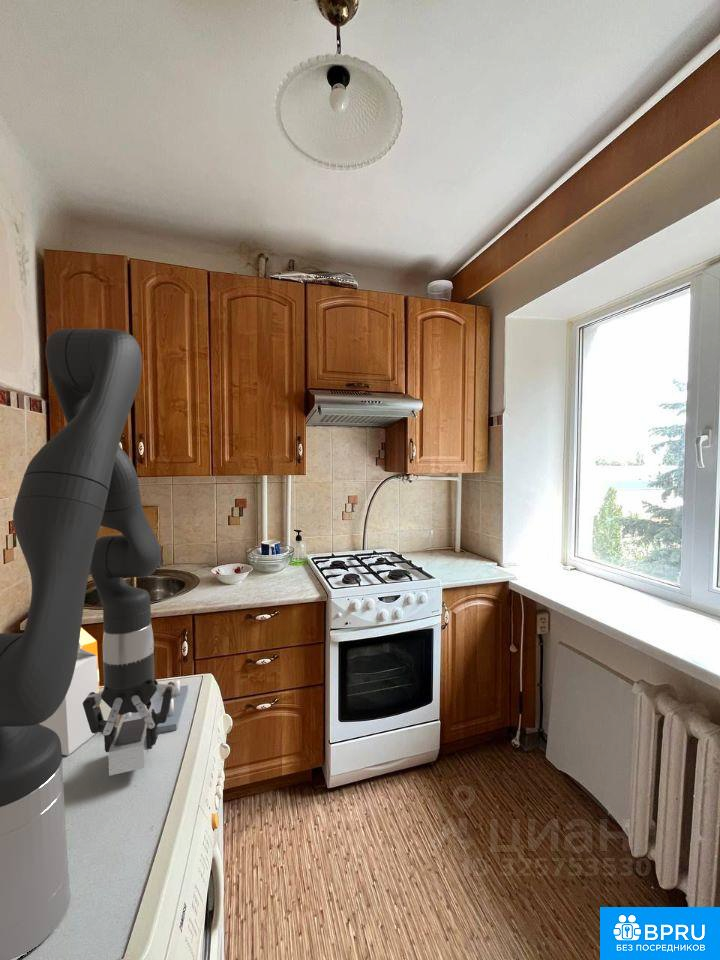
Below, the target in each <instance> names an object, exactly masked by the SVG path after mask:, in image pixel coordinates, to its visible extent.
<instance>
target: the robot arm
mask: <svg viewBox="0 0 720 960" xmlns="http://www.w3.org/2000/svg"><path fill="white" fill-rule="evenodd" d="M47 338H48V339H47V340H46V344H45V351H44V352H45V353H44V355H45V360H46V366H47V371H48V374H49V377H50V380H51V383H52V385H53V389H54V392H55V394H56V398H57V399H58V403H59V405H60V408H61V410H62V413H63V416H64V418H65V421H66V425H65V426H64V427H62V429H60V430H59V431H58V432H57V433H55V435H54V436H53V437H51V438H50V439H49V440H48V441H47V442H46V443H45V444H44V445H43V446H42V447H41V448H40V449H39V451H38V452H36V454H35V455H34V456H32V459H31V460H30V462H29V463H28V465H27V467H26V469H25V472H24V474H23V477H22V480H21V483H20V488H19V490H18V494H17V496H16V500H15V503H14V507H13V511H12V522H13V524H12V525H13V528H14V532H15V535H16V539H17V541H18V544H19V547H20V550H21V552H22V554H23V556H24V559H25V563H26V565H27V568H28V571H29V574H30V580H31V596H30V597H31V599H30V604H29V608H28V615H27V619H26V623H25V626H24V629H23V632H22V633H21V632H17V633H14V632H11V633H10V632H9V633H7V632H4V633H3V632H0V960H11V959H13V958H16V957H18V956H20V955H22V954H25V953H27V952H28V951H31V950H32V949H33V950H35V949H34V948H35V947H36V948H37V947H39V945H40V944H42V943H43V942H44V941H45V940H46V939H47V938H48V937H49V936H50V935H51V934H52V933H53V932H54V930H55V929H56V927H58V925H59V923H60V922H61V921H62V920H63V917H64V916H65V914H66V912H67V910H68V906H69V904H70V899H71V898H70V895H71V894H70V884H71V883H70V873H69V858H68V843H67V841H68V840H67V838H68V837H67V826H66V825H67V824H66V807H65V805H66V804H65V792H64V791H65V790H64V789H65V788H64V772H63V769H64V768H63V755H62V751H61V742H60V738H59V736H58V735H57V734H56V733H55V732H54V731H53V730H51V729H49V728H47V727H45V726H43V725H40V724H39V723H42V722H44V721H45V720H47V719H48V718H49V717H51V716H52V715H53V714H54V713H55V712H56V710H57V709H58V708H59V707H60V705H61V703H62V702H63V700H64V698H65V696H66V694H67V692H68V689H69V687H70V684H71V681H72V678H73V674H74V670H75V665H76V660H77V654H78V647H79V640H80V632H81V628H82V623H83V616H84V607H85V599H86V593H87V586H88V581H89V575H91V579H92V581H93V583H94V586H95V588H96V591H97V593H98V597H99V600H100V602H101V605H102V615H103V616H102V619H103V636H102V662H103V663H102V665H103V669H102V671H103V690H102V691H99V693H95V692H91V693H89V695H88V696H87V697H86V699H85V700H84V702H83V707H84V710H85V714H86V717H87V720H88V724H89V727H90V730H91V732H92V733H96V734H97V733H100V734H102V735H103V737H104V738H103V739H104V741H103V742H104V751H105V753H108V752H109V749H110V747H111V744H112V741H113V739H114V736H115V733H116V731H117V726H116V723H117V721H118V718H119V716H122V715H123V714H126V713H129V712H131V713H136V712H139V714H140V716H141V718H142V719H144V721H145V723H146V725H147V729H146V733H147V749H149V750H151V749H153V746H154V745H156V742H157V739H158V737H159V733H158V727H157V725H158V724H159V723H165V722H166V719H167V715H168V713H169V709H170V705H171V700H172V695H173V690H174V681H170V682H168V683H167V684H161V683H158V681H157V680H156V676H155V654H154V653H155V652H154V651H155V650H154V647H155V640H154V631H153V627H152V611H151V607H152V606H151V596H150V593H149V591H147V589H143V588H141V587H140V588H139V587H135V586H133V585H132V586H131V585H130V584H128V583H127V582H126V580H125V578H143V577H149V576H151V575H152V574H154V573H155V572H156V570H157V569H158V567H159V565H160V562H161V558H162V553H161V552H162V551H161V546H160V543H159V540H158V538H157V536H156V534H155V532H154V530H153V529H152V527H151V526H152V525H150V522H149V520H148V518H147V516H146V513H145V511H144V508H143V504H142V498H141V491H140V485H139V477H138V475H137V471H136V468H135V466H134V464H133V463H132V461H131V459H130V457H129V456H128V455H127V453H126V452H125V450H123V448H122V447H121V445H120V442H121V437H122V435H123V432H124V428H125V426H126V422H127V420H128V418H129V415H130V411H131V408H132V406H133V404H134V401H135V397H136V395H137V393H138V389H139V387H140V386H139V385H140V381H141V378H142V371H143V355H142V351H141V347H140V345H139V343H138V341H137V339H136V338H135V337H134V336H133V335H131V334H130V333H129V332H127V331H125V330H120V329H113V328H60V329H57V330H55V331H53V332H52V333H51V334H50V335H49V336H48V337H47ZM100 527H104V528H108V529H111V530H116V531H118V532H120V535H119V534H118V535H114V534H113V535H103V536H100V537H99V538H98V536H99V535H98V534H99V531H100ZM121 534H122V535H121ZM155 692H158V693H159V697H160V698H161V699H163V701H162V706H161V711H160V712H159V713H157V712H156V710H155V708H154V704H153V701H152V699H151V698H152V696H153V695H154V694H155ZM102 701H103V702H104V703H105V704H106V705H107V706H108V707H109V708H110V712H109V715H108V716H107V717H108V718H106V719H107V720H105V719H104V717H103V713H102V710H101V703H102ZM33 950H32V951H33ZM32 951H31V952H32Z"/></svg>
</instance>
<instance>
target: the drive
mask: <svg viewBox="0 0 720 960" xmlns="http://www.w3.org/2000/svg"><path fill="white" fill-rule="evenodd" d="M120 719H121V718H120ZM120 719H119V721H120V723H119V722H118V723H119V725H118V724H117V725H118V728H117V731H116V733H115V736H114V739H113V741H112V744H111V747H110V749H109V752H107V754H108V755H107V756H108V757H107V758H108V776H109V777H110V776H114V775H118V774H122V773H128V772H131V771H136V770H141V769H144V768H145V766H146V765H145V764H146V762H147V757H148V753H149V750H150V749H147V733H146V729H147V725H146V723H145V721H144V719H142V718H141V716H137V717H132V718H127V719H121V720H120Z"/></svg>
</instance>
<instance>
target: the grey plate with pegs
mask: <svg viewBox="0 0 720 960" xmlns="http://www.w3.org/2000/svg"><path fill="white" fill-rule="evenodd" d="M173 683H174V690H173V695H172V700H171V705H170V709H169V713H168V715H167V719H166V722H165V723H159V724H158V725H157V727H158V734H160V733H167V732H172V731H177V730H178V727H179V723H180V721H181V717H182V712H183V709H184V707H185V703H186V698H187V696H188V692H189V685H188V684H186V685H180V684H181V680H180V679H177V680H174V681H173ZM151 699H152V701H153V704H154V708H155V710H156V712H157V713H159V712H160V711H161V706H162V701H163V699H161V698H160V697H159V693H158V692H155V694H154V695H153V696H152V698H151ZM137 716H140V714H139V712H136V713H131V712H129V713H126V714H123V715H121V717H120V719H119V720H118V723H117V725H116V727H117V728H118V725H119V723H120V720H121V719H127V718H132V717H137Z"/></svg>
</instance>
